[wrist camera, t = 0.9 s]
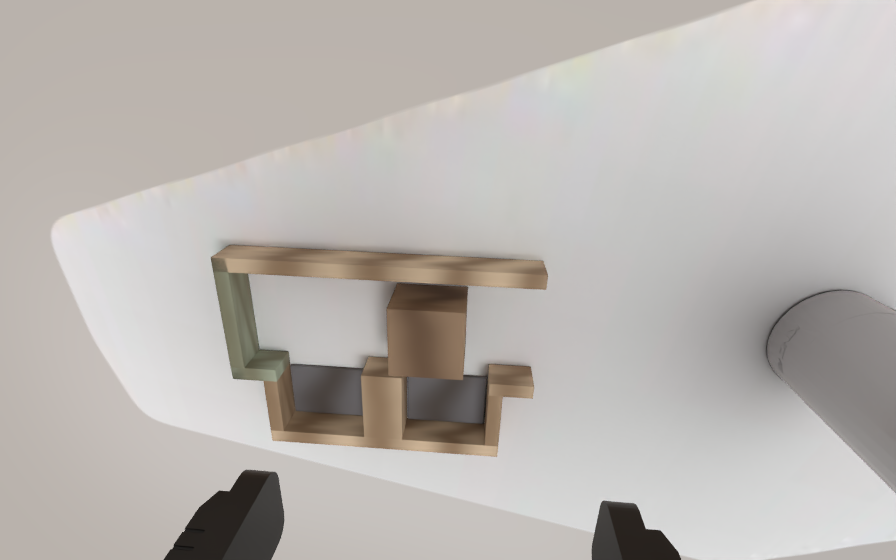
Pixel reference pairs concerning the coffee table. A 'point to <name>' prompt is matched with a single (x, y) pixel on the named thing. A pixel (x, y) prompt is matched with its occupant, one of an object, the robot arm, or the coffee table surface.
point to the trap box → (370, 389)
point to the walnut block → (427, 331)
